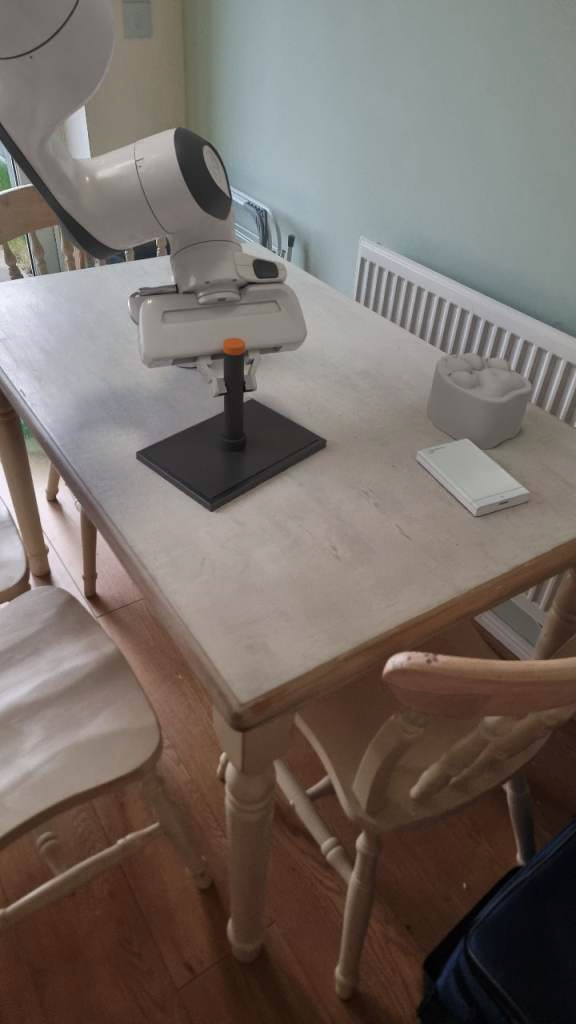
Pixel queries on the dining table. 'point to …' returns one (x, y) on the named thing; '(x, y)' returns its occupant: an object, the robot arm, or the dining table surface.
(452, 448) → the hard drive
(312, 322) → the dining table surface
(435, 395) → the lumpy-topped squat cylinder
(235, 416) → the black orange-capped cylinder
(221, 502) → the tablet
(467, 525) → the dining table surface
